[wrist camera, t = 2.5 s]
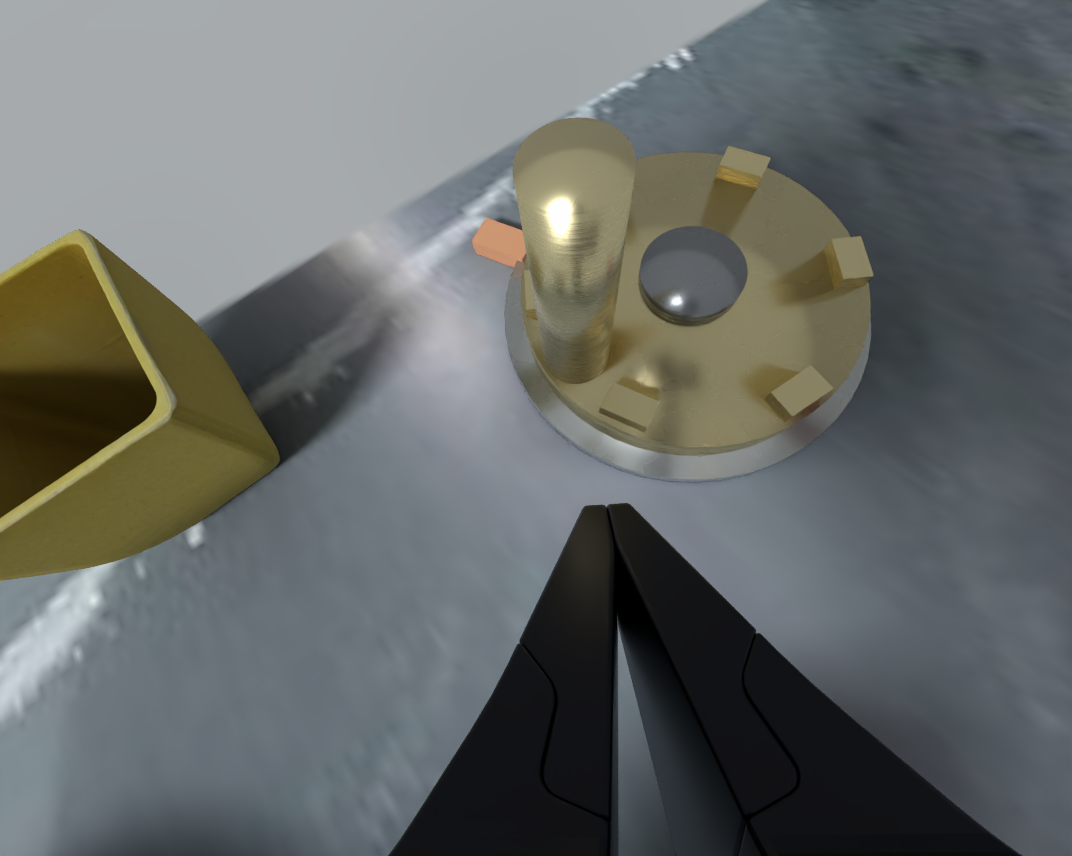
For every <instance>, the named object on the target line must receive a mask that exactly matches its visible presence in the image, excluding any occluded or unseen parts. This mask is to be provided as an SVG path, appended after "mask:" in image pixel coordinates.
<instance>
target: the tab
mask: <svg viewBox="0 0 1072 856" xmlns="http://www.w3.org/2000/svg"><path fill="white" fill-rule="evenodd" d="M472 243H473V246H474V249H475V252H476V254H479V255H482V256H484V257H487V258H489V259H492V260H495V261H497V262H500V263H503V264H505V265H508V266H510V267H513V268H514V267H515V264H516V262H517V260H518V261H521V262H523V260H524V259H525V257H526V249H525V243H524V237H523V231H522V230H520V229H517V228H514V227H511V226H508V225H506V224H503V223H500V222H497V221H494V220H492V219H489V218H486V219H485V220H484V222H483V224H482V225H481V227H480V228H479V230H478V232H477V233H476V235H475V236H474V238H473V240H472Z"/></svg>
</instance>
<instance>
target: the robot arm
mask: <svg viewBox="0 0 1072 856" xmlns="http://www.w3.org/2000/svg"><path fill="white" fill-rule="evenodd" d="M617 620H618V626H619V631H620V635H621V640H622V643H623V647H624V651H625V655H626V659H627V663H628V667H629V671H630V675H631V679H632V683H633V687H634V691H635V695H636V699H637V703H638V706H639V710H640V714H641V718H642V722H643V726H644V730H645V734H646V738H647V742H648V746H649V750H650V754H651V758H652V762H653V766H654V769H655V773H656V777H657V781H658V785H659V789H660V793H661V797H662V801H663V805H664V809H665V813H666V817H667V821H668V825H669V829H670V832H671V836H672V840H673V844H674V848H675V852H676V856H1022V855H1021V854H1019V853H1018V852H1016V851H1015V850H1013V849H1012V848H1011V847H1009V846H1008V845H1006V844H1005V843H1004V842H1002V841H1001V840H1000V839H998V838H997V837H995V836H994V835H993V834H991V833H990V832H989V831H987V830H986V829H985V828H984V827H982V826H981V825H980V824H979V823H977V822H976V821H975V820H974V819H972V818H971V817H970V816H969V815H967V814H966V813H965V812H964V811H962V810H961V809H960V808H959V807H958V806H956V805H955V804H954V803H953V802H952V801H951V800H949V799H948V798H947V797H946V796H945V795H943V794H942V793H941V792H940V791H939V790H937V789H936V788H935V787H934V786H933V785H931V784H930V783H929V782H928V781H927V780H925V779H924V778H923V777H922V776H921V775H919V774H918V773H917V772H916V771H915V770H913V769H912V768H911V767H910V766H909V765H907V764H906V763H905V762H904V761H903V760H901V759H900V758H899V757H898V756H897V755H895V754H894V753H893V752H892V751H891V750H889V749H888V748H887V747H886V746H885V745H884V744H882V743H881V742H880V741H879V740H878V739H876V738H875V737H874V736H873V735H872V734H870V733H869V732H868V731H867V730H866V729H864V728H863V727H862V726H861V725H860V724H858V723H857V722H856V721H855V720H854V719H852V718H851V717H850V716H849V715H848V714H847V713H846V712H844V711H843V710H842V709H841V708H840V707H839V706H837V705H836V704H835V703H834V702H833V701H832V700H831V699H829V698H828V697H827V696H826V695H825V694H824V693H822V692H821V691H820V690H819V689H818V688H817V687H816V686H814V685H813V684H812V683H811V682H810V681H809V680H808V679H807V678H806V677H805V676H804V675H803V674H802V673H800V672H799V671H798V670H797V669H796V668H795V667H794V666H793V665H792V664H791V663H790V662H789V661H788V660H787V659H786V658H785V657H784V656H783V655H781V654H780V653H779V652H778V651H777V650H776V649H775V648H774V647H773V646H772V645H771V644H770V643H769V642H768V641H767V640H766V639H765V638H764V637H763V636H762V635H761V634H760V633H757V634H756V629H755V628H754V627H753V626H752V625H751V624H750V623H749V622H748V621H747V620H746V619H745V618H744V617H743V616H742V615H741V614H740V613H739V612H738V611H737V610H736V609H735V608H734V607H733V606H732V605H731V604H730V603H729V602H728V601H727V600H726V599H725V598H724V597H723V596H722V595H721V594H720V593H719V592H718V591H717V590H716V589H715V588H714V587H713V586H712V585H711V584H710V583H709V582H708V581H707V580H706V579H705V578H704V577H703V576H702V575H701V574H700V573H699V572H698V571H697V570H696V569H695V568H694V567H693V566H692V565H691V564H690V563H689V562H688V561H687V560H685V559H684V558H683V557H682V556H681V555H680V554H679V553H678V552H677V551H676V550H675V549H674V548H673V547H672V546H671V545H670V544H669V543H668V542H667V541H666V540H665V539H664V538H663V537H662V536H661V535H660V534H659V533H658V532H657V531H656V530H655V529H654V528H653V527H652V526H651V525H650V524H649V523H648V522H647V521H646V520H645V519H644V518H643V517H642V516H641V515H640V514H639V513H638V512H637V511H636V510H635V509H634V508H633V507H632V506H631V505H630V504H628V503H620V504H609V505H608V506H607V508H606V506H604V505H589V506H585V507H583V509H582V511H581V513H580V515H579V517H578V519H577V521H576V523H575V526H574V528H573V530H572V532H571V534H570V536H569V538H568V540H567V542H566V544H565V546H564V548H563V551H562V553H561V555H560V557H559V559H558V561H557V563H556V565H555V567H554V569H553V571H552V573H551V576H550V578H549V580H548V582H547V584H546V586H545V588H544V590H543V592H542V594H541V596H540V599H539V601H538V603H537V605H536V607H535V609H534V611H533V613H532V615H531V617H530V619H529V621H528V624H527V626H526V628H525V630H524V632H523V634H522V636H521V638H520V644H517V646H516V648H515V650H514V652H513V654H512V656H511V658H510V661H509V663H508V665H507V667H506V669H505V670H504V672H503V674H502V676H501V678H500V680H499V682H498V684H497V686H496V688H495V690H494V691H493V693H492V695H491V697H490V699H489V700H488V702H487V704H486V705H485V707H484V709H483V710H482V712H481V714H480V715H479V717H478V719H477V720H476V722H475V724H474V725H473V727H472V729H471V730H470V732H469V733H468V735H467V736H466V738H465V740H464V741H463V743H462V744H461V746H460V747H459V749H458V751H457V752H456V754H455V755H454V757H453V758H452V760H451V761H450V763H449V765H448V766H447V768H446V769H445V771H444V772H443V774H442V776H441V777H440V779H439V780H438V782H437V783H436V785H435V786H434V788H433V790H432V791H431V793H430V794H429V796H428V797H427V799H426V801H425V802H424V804H423V805H422V807H421V808H420V810H419V811H418V813H417V815H416V816H415V818H414V819H413V821H412V822H411V824H410V825H409V827H408V828H407V830H406V831H405V833H404V834H403V836H402V837H401V839H400V840H399V842H398V843H397V845H396V846H395V847H394V849H393V850H392V851H391V853H390V854H389V855H388V856H618V627H617Z"/></svg>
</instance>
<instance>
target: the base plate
mask: <svg viewBox="0 0 1072 856" xmlns="http://www.w3.org/2000/svg"><path fill="white" fill-rule="evenodd" d="M526 256H527V255H526ZM525 259H526V257H525ZM525 259H524V260H523V262H521V261H518V260H517V262H516V264H515V267H514V269H513V272H512V274H511V277H510V281H509V286H508V290H507V294H506V304H505V330H506V338H507V343H508V347H509V352H510V356H511V359H512V362H513V365H514V368H515V370H516V373H517V376H518V378H519V381H520V383H521V385H522V387H523V388H524V390H525V392H526V394H527V396H528V398H529V399H530V401H531V402H532V404H533V405H534V406H535V408H536V409H537V410H538V412H539V413H540V414H541V416H542V417H543V418H544V419H545V420H546V421H547V422H548V423H549V424H550V425H551V426H552V427H553V428H554V430H555V431H556V432H557V433H558V434H560V435H561V436H562V437H563V438H565V439H566V440H567V441H569V442H570V443H571V444H572V445H574V446H575V447H576V448H578V449H579V450H581V451H583V452H584V453H586V454H588V455H589V456H591V457H593V458H594V459H596V460H598V461H600V462H602V463H605V464H607V465H609V466H611V467H614V468H616V469H618V470H621V471H624V472H628V473H631V474H634V475H638V476H641V477H644V478H650V479H656V480H662V481H668V482H689V483H699V482H710V481H721V480H726V479H730V478H735V477H739V476H744V475H748V474H750V473H753V472H756V471H759V470H761V469H764V468H767V467H770V466H772V465H773V464H775V463H777V462H779V461H781V460H783V459H785V458H787V457H789V456H790V455H792V454H794V453H796V452H798V451H800V450H801V449H803V448H804V447H805V446H807V445H808V444H810V443H811V442H812V441H814V440H815V439H816V438H818V437H819V436H820V435H821V434H822V433H823V432H824V431H825V430H826V429H827V428H828V427H829V426H830V425H831V424H832V423H833V422H834V421H835V420H836V419H837V418H838V417H839V416H840V414H841V413H842V411H843V410H844V409H845V407H846V406H847V405H848V403H849V402H850V401H851V399H852V397H853V395H854V393H855V391H856V389H857V387H858V385H859V383H860V381H861V379H862V376H863V373H864V370H865V366H866V363H867V360H868V355H869V348H870V341H871V314H870V321H869V328H868V332H867V336H866V339H865V343H864V347H863V349H862V351H861V353H860V356H859V358H858V360H857V362H856V364H855V366H854V368H853V369H852V371H851V372H850V374H849V375H848V377H847V378H846V380H845V381H844V383H843V384H842V385H841V386H840V387H839V388H838V390H837V391H836V392H835V393H834V394H833V395H832V396H831V397H830V398H829V399H828V400H827V401H826V402H825V403H823V404H822V405H821V406H820V407H819V408H817V409H816V410H815V411H814V412H812V413H811V414H810V415H808V416H807V417H805V418H804V419H802V420H801V421H799V422H798V423H796V424H795V425H793V426H791V427H790V428H788V429H786V430H785V431H783V432H781V433H780V434H778V435H776V436H775V437H773V438H771V439H768V440H766V441H763V442H761V443H759V444H756V445H754V446H751V447H747V448H744V449H740V450H736V451H733V452H728V453H721V454H714V455H706V456H681V455H672V454H664V453H657V452H653V451H649V450H645V449H641V448H637V447H634V446H631V445H629V444H626V443H623V442H621V441H618V440H615V439H613V438H612V437H610V436H608V435H606V434H604V433H602V432H600V431H598V430H596V429H595V428H593V427H592V426H590V425H589V424H588V423H586V422H585V421H583V420H582V419H580V418H579V417H578V416H577V415H576V414H574V413H573V412H572V411H571V410H570V409H569V408H568V407H567V406H566V405H565V404H563V403H562V401H561V400H560V399H559V398H558V397H557V395H556V394H555V393H554V392H553V391H552V389H551V388H550V387H549V385H548V384H547V382H546V381H545V379H544V377H543V376H542V374H541V373H540V371H539V369H538V367H537V364H536V362H535V360H534V358H533V355H532V353H531V349H530V346H529V342H528V339H527V335H526V331H525V326H524V322H523V316H522V308H521V300H520V296H521V278H522V272H523V267H524V262H525ZM747 275H748V268H747V263H746V259H745V257H744V254H743V253H742V251H741V249H740V248H739V247H738V246H737V244H736V243H735V242H734V241H732V240H731V239H730V238H729V237H727V236H726V235H724V234H722V233H721V232H718V231H716V230H713V229H710V228H706V227H700V226H685V227H679V228H675V229H672V230H669V231H667V232H665V233H663V234H661V235H660V236H658V237H657V238H656V239H654V240H653V241H652V242H651V243H650V244H649V246H648V247H647V249H646V250H645V252H644V254H643V257H642V260H641V265H640V269H639V275H638V286H639V290H640V293H641V296H642V298H643V300H644V301H645V303H646V304H647V305H648V306H649V308H650V309H651V310H653V311H654V312H655V313H656V314H658V315H659V316H661V317H662V318H665V319H667V320H669V321H672V322H675V323H679V324H686V325H696V324H703V323H708V322H711V321H713V320H716V319H718V318H720V317H721V316H723V315H724V314H726V313H727V312H728V311H729V310H730V309H731V308H732V307H733V305H734V304H735V302H736V301H737V299H738V297H739V296H740V294H741V292H742V291H743V289H744V287H745V284H746V281H747Z"/></svg>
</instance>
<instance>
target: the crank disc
mask: <svg viewBox="0 0 1072 856" xmlns="http://www.w3.org/2000/svg"><path fill="white" fill-rule="evenodd" d="M770 159H771V158H770V157H767V156H763V155H759V154H756V153H752V152H749V151H745V150H742V149H738V148H735V147H731V146H728V148H727V150H726V152H725V154H724V155H719V154H712V153H699V152H679V153H664V154H658V155H653V156H647V157H642V158H639V159H636V155H635V151H634V149H633V146H632V144H631V143H630V141H629V139H628V138H627V137H626V136H625V135H624V134H623V133H622V132H621V131H620V130H618V129H617V128H615V127H614V126H612V125H610V124H608V123H605V122H602V121H600V120H595V119H590V118H568V119H562V120H558V121H555V122H552V123H549V124H547V125H545V126H543V127H541V128H539V129H538V130H536V131H535V132H533V133H532V134H531V135H530V136H529V137H528V138H527V139H526V140H525V141H524V142H523V143H522V145H521V146H520V147H519V149H518V151H517V153H516V155H515V158H514V163H513V177H514V183H515V189H516V195H517V201H518V207H519V213H520V219H521V225H522V231H523V237H524V243H525V249H526V255H527V256H526V259H525V262H524V267H523V272H522V278H521V296H520V300H521V308H522V316H523V322H524V326H525V331H526V335H527V339H528V342H529V346H530V349H531V353H532V355H533V358H534V360H535V362H536V364H537V367H538V369H539V371H540V373H541V374H542V376H543V377H544V379H545V381H546V382H547V384H548V385H549V387H550V388H551V389H552V391H553V392H554V393H555V394H556V395H557V397H558V398H559V399H560V400H561V401H562V403H563V404H565V405H566V406H567V407H568V408H569V409H570V410H571V411H572V412H573V413H574V414H576V415H577V416H578V417H579V418H580V419H582V420H583V421H585V422H586V423H588V424H589V425H590V426H592V427H593V428H595V429H596V430H598V431H600V432H602V433H604V434H606V435H608V436H610V437H612V438H613V439H615V440H618V441H621V442H623V443H626V444H629V445H631V446H634V447H637V448H641V449H645V450H649V451H653V452H657V453H664V454H672V455H681V456H706V455H714V454H721V453H728V452H733V451H736V450H740V449H744V448H747V447H751V446H754V445H756V444H759V443H761V442H763V441H766V440H768V439H771V438H773V437H775V436H776V435H778V434H780V433H781V432H783V431H785V430H786V429H788V428H790V427H791V426H793V425H795V424H796V423H798V422H799V421H801V420H802V419H804V418H805V417H807V416H808V415H810V414H811V413H812V412H814V411H815V410H816V409H817V408H819V407H820V406H821V405H822V404H823V403H825V402H826V401H827V400H828V399H829V398H830V397H831V396H832V395H833V394H834V393H835V392H836V391H837V390H838V388H839V387H840V386H841V385H842V384H843V383H844V381H845V380H846V378H847V377H848V375H849V374H850V372H851V371H852V369H853V368H854V366H855V364H856V362H857V360H858V358H859V356H860V353H861V351H862V349H863V347H864V343H865V339H866V336H867V332H868V328H869V321H870V309H871V301H870V288H869V281H870V280H871V279H872V278H873V277H874V274H873V271H872V268H871V265H870V262H869V259H868V256H867V253H866V250H865V247H864V244H863V241H862V238H861V236H856V237H851V236H850V234H849V233H848V231H847V229H846V228H845V227H844V226H843V224H842V223H841V222H840V220H839V219H838V218H837V217H836V215H835V214H834V213H833V212H832V211H831V210H830V209H829V208H828V207H827V206H826V205H825V204H824V203H823V202H822V201H821V200H820V199H819V198H817V197H816V196H815V195H813V194H812V193H811V192H810V191H808V190H807V189H806V188H804V187H803V186H801V185H800V184H798V183H796V182H795V181H793V180H791V179H790V178H788V177H787V176H785V175H783V174H780V173H778V172H776V171H774V170H772V169H770V168H768V167H767V166H768V163H769V161H770ZM685 226H700V227H706V228H710V229H713V230H716V231H718V232H721V233H722V234H724V235H726V236H727V237H729V238H730V239H731V240H732V241H734V242H735V243H736V244H737V246H738V247H739V248H740V249H741V251H742V253H743V254H744V257H745V259H746V263H747V268H748V275H747V281H746V284H745V287H744V289H743V291H742V292H741V294H740V296H739V297H738V299H737V301H736V302H735V304H734V305H733V307H732V308H731V309H730V310H729V311H728V312H727V313H726V314H724V315H723V316H721V317H720V318H718V319H716V320H713V321H711V322H708V323H703V324H696V325H686V324H679V323H675V322H672V321H669V320H667V319H665V318H662V317H661V316H659V315H658V314H656V313H655V312H654V311H653V310H651V309H650V308H649V306H648V305H647V304H646V303H645V301H644V300H643V298H642V296H641V293H640V290H639V286H638V275H639V269H640V265H641V260H642V257H643V254H644V252H645V250H646V249H647V247H648V246H649V244H650V243H651V242H652V241H653V240H654V239H656V238H657V237H658V236H660V235H661V234H663V233H665V232H667V231H669V230H672V229H675V228H679V227H685Z"/></svg>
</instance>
